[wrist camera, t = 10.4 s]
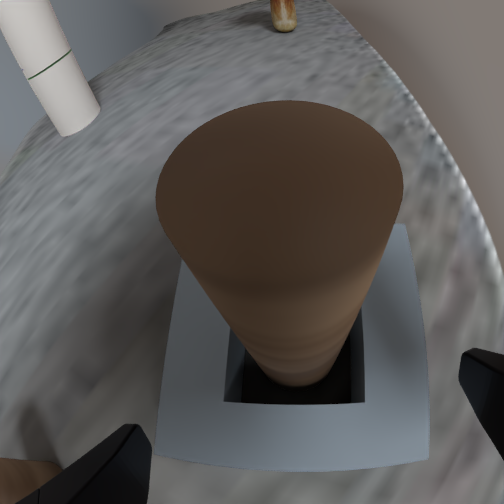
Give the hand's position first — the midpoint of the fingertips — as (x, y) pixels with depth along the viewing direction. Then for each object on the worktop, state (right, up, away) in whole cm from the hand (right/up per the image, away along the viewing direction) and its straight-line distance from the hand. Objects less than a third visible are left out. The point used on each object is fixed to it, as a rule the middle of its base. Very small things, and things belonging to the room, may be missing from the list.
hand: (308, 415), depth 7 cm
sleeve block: (+1, -2, +10) cm, 10 cm away
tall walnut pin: (+1, -2, +10) cm, 10 cm away
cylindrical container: (-26, +23, +30) cm, 46 cm away
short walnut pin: (-15, -12, +6) cm, 21 cm away
